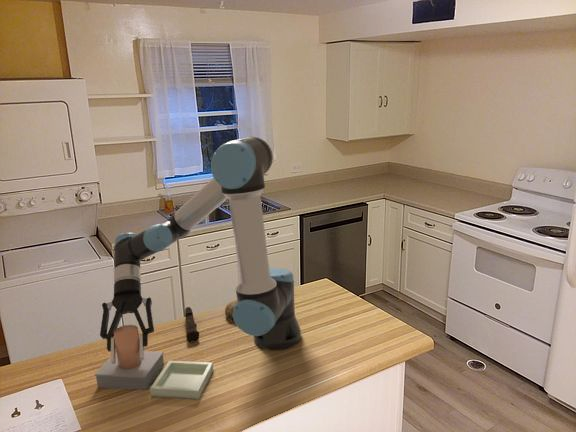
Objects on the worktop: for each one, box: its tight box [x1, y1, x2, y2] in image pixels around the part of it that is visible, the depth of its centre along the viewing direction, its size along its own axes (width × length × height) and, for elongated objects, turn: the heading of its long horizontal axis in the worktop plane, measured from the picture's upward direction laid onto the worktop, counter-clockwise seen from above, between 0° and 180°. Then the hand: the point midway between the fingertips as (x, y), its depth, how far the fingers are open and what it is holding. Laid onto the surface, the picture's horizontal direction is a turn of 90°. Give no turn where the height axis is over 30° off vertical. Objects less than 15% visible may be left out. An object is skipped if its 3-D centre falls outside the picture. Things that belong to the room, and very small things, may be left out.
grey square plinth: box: [94, 350, 165, 391], centre depth 130 cm, size 14×12×4 cm
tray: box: [149, 360, 214, 400], centre depth 126 cm, size 13×13×2 cm
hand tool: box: [184, 306, 200, 343], centre depth 155 cm, size 19×4×5 cm, turn 14°
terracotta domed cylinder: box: [113, 324, 142, 369], centre depth 128 cm, size 6×6×10 cm
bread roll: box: [224, 299, 238, 323], centre depth 163 cm, size 10×10×8 cm
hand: (127, 360), depth 125 cm, fingers open, 7 cm apart
